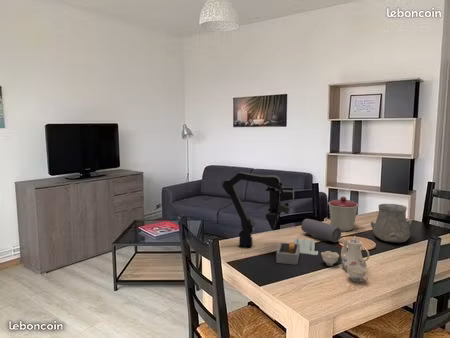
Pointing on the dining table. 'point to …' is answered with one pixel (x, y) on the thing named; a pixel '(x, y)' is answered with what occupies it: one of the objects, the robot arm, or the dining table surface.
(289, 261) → the open box
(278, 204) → the robot arm
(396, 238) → the vessel
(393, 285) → the dining table surface
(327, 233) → the bluetooth speaker
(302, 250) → the metal bracket
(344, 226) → the canister
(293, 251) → the wood grain brick
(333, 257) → the chinaware
